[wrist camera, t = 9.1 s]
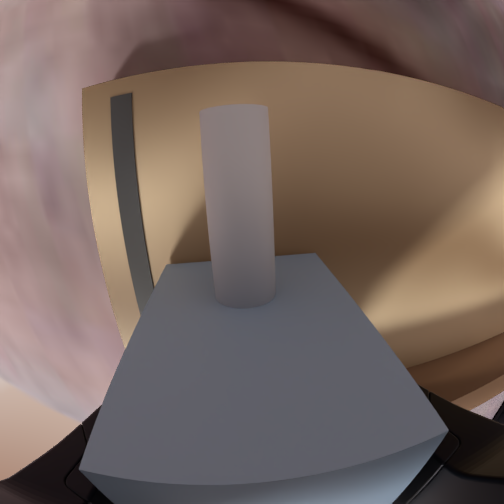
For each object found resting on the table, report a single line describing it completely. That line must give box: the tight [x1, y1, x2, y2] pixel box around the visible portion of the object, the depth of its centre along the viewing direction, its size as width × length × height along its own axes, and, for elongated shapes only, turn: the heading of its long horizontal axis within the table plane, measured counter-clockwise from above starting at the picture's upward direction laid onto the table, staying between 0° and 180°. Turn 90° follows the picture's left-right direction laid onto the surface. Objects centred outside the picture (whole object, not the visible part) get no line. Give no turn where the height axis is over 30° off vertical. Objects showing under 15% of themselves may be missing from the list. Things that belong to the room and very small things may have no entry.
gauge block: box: [79, 104, 449, 504], centre depth 5 cm, size 8×4×6 cm, turn 3°
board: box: [82, 61, 504, 411], centre depth 8 cm, size 12×20×4 cm, turn 93°
